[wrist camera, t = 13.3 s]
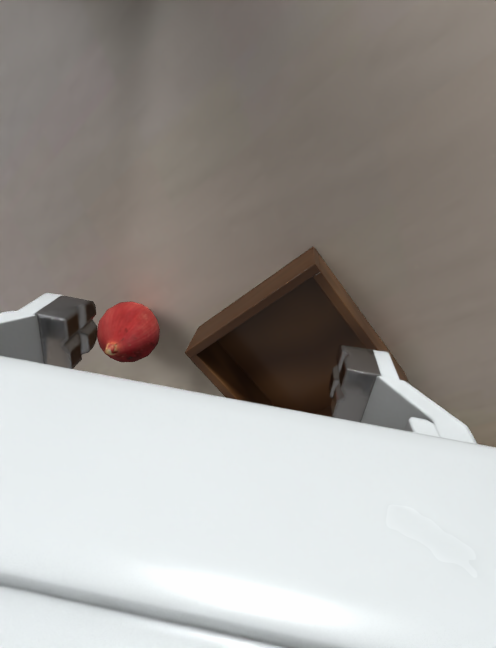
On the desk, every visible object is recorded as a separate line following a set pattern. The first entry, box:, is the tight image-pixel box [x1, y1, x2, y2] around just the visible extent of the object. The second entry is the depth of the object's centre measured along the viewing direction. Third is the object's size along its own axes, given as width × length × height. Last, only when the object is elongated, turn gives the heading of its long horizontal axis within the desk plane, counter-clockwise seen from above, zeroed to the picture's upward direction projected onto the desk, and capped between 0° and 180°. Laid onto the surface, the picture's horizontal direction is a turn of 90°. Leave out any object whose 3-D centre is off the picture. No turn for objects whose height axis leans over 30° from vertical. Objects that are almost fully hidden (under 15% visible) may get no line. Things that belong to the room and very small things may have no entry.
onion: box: [97, 302, 160, 362], centre depth 37 cm, size 6×6×8 cm
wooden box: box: [185, 247, 409, 417], centre depth 38 cm, size 17×15×5 cm
